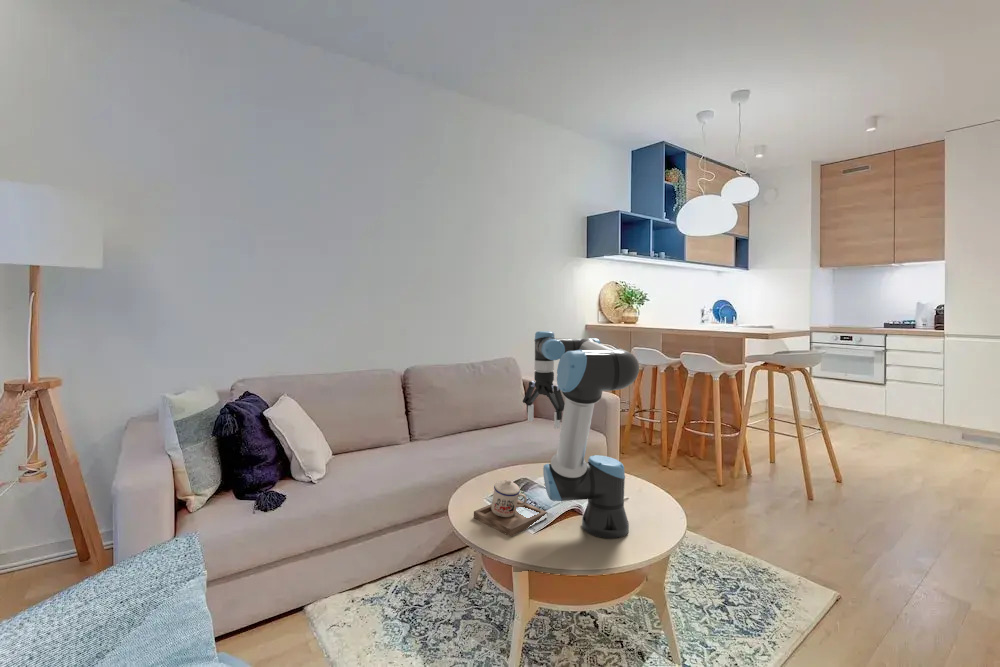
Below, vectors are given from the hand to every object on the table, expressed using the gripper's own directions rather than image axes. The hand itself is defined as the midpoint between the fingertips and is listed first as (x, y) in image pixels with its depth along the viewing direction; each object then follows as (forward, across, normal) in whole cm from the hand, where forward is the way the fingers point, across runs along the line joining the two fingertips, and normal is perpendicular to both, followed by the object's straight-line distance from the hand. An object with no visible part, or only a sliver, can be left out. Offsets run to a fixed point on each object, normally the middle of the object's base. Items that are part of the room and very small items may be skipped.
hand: (543, 424), depth 184 cm
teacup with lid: (+26, -5, +25) cm, 36 cm away
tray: (+27, -8, +26) cm, 38 cm away
